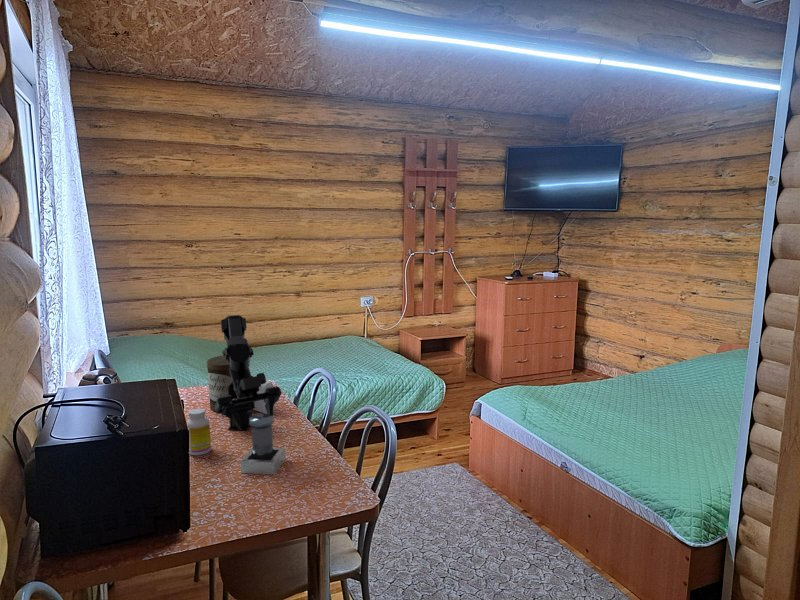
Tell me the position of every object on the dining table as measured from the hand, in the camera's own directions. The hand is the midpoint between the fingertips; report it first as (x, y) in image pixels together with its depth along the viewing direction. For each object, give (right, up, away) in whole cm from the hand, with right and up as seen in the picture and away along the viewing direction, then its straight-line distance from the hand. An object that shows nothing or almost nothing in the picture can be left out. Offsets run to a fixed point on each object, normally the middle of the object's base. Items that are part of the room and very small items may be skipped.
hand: (256, 425), depth 163 cm
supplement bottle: (-20, -10, +9) cm, 24 cm away
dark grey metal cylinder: (+2, -11, -2) cm, 12 cm away
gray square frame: (+2, -11, -2) cm, 12 cm away
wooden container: (-22, -4, +49) cm, 54 cm away
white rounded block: (-9, -5, +43) cm, 45 cm away
